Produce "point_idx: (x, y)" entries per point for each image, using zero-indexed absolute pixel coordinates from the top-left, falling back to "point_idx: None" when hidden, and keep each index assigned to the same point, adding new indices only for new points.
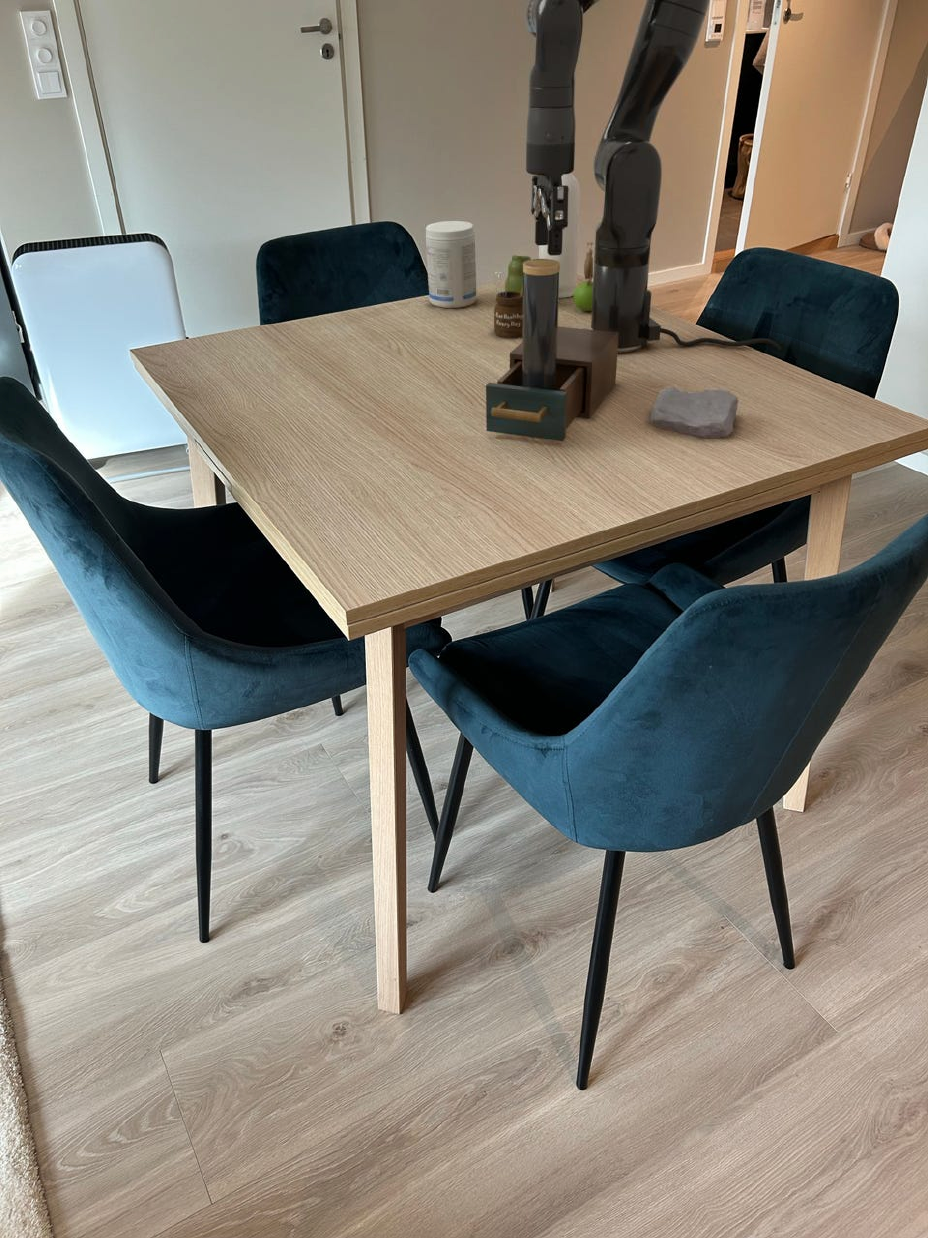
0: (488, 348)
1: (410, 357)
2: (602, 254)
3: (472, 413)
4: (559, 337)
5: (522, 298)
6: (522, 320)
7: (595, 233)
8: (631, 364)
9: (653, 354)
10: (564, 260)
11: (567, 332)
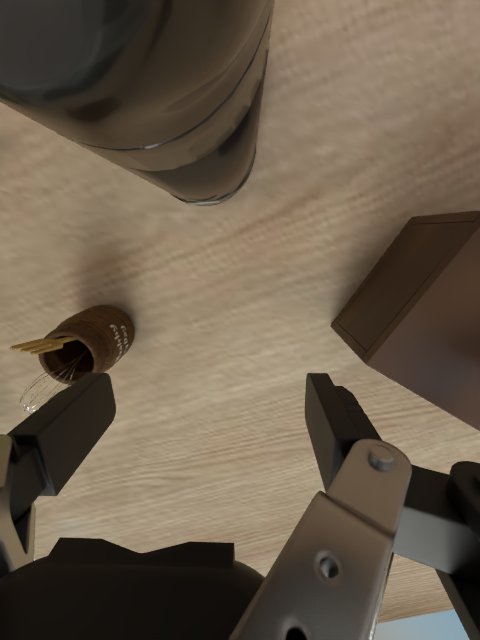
0: (180, 373)
1: (201, 469)
2: (203, 140)
3: (427, 429)
4: (462, 348)
5: (86, 336)
6: (115, 322)
7: (68, 129)
8: (317, 150)
9: (272, 79)
10: None
11: (440, 325)
